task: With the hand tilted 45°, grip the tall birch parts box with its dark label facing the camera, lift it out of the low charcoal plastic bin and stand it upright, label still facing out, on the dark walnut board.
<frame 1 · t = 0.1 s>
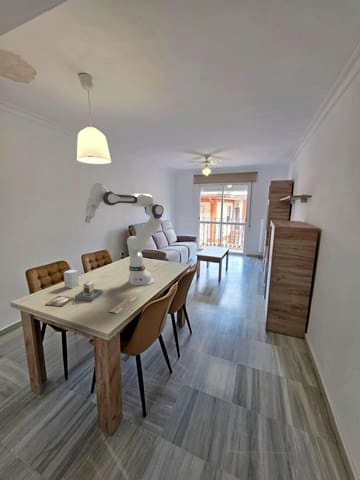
hand: (86, 222, 149), 52 cm above the table, tool tilted 20°, fingers open, 8 cm apart
walnut board: (60, 301, 136), on the table
newspaper: (124, 306, 134), on the table
charcoal bin: (89, 296, 145), on the table
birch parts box: (88, 289, 144), in the charcoal bin
supplement box: (71, 286, 162), on the table
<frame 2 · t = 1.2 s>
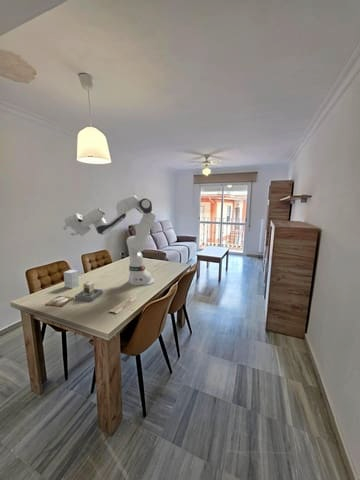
hand: (67, 231, 151), 44 cm above the table, tool tilted 55°, fingers open, 8 cm apart
nothing on the table moved.
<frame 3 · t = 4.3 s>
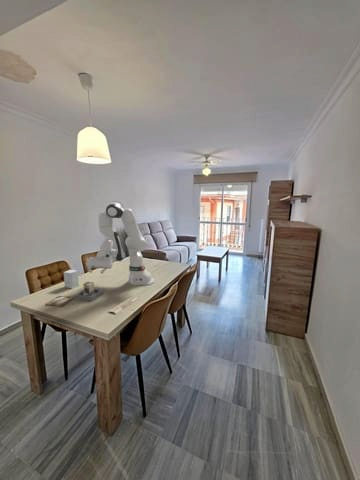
hand: (95, 272, 152), 14 cm above the table, tool tilted 45°, fingers open, 8 cm apart
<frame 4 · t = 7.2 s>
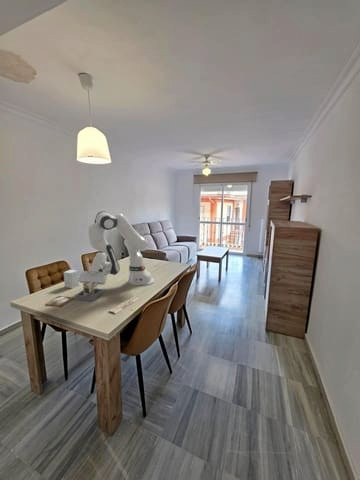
hand: (88, 288, 143), 6 cm above the table, tool tilted 45°, fingers closed on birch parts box, 5 cm apart
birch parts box: (88, 289, 144), in the charcoal bin, touching gripper
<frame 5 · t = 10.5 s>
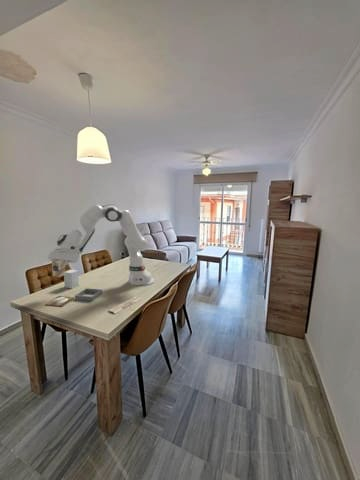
hand: (58, 266, 131), 24 cm above the table, tool tilted 45°, fingers closed on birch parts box, 5 cm apart
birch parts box: (58, 268, 132), point 24 cm above the table, touching gripper
when the fingers open (8 cm above the table, at t = 14.0 s): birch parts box drops 1 cm, resting on walnut board.
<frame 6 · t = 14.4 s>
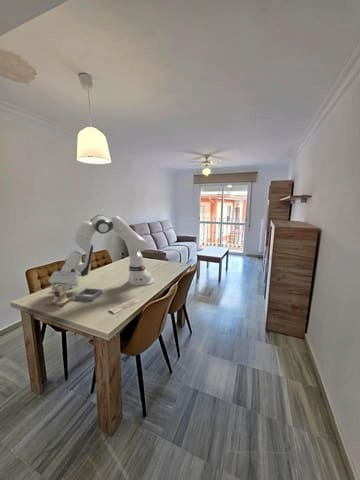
hand: (58, 290, 134), 8 cm above the table, tool tilted 45°, fingers open, 8 cm apart
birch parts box: (59, 293, 135), on the walnut board, point 6 cm above the table
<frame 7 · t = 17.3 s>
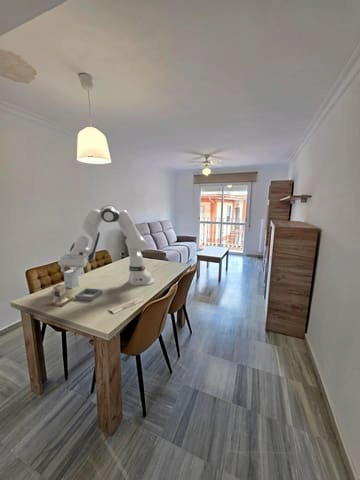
hand: (68, 271, 142), 18 cm above the table, tool tilted 45°, fingers open, 8 cm apart
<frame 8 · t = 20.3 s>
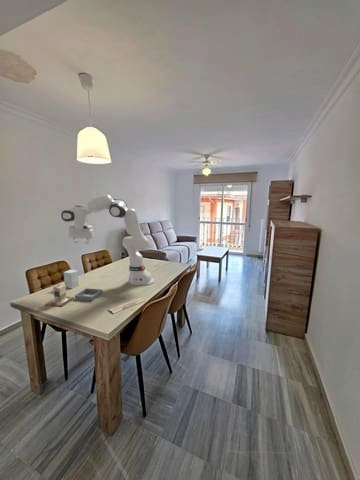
hand: (81, 243, 162), 34 cm above the table, tool pointing down, fingers open, 8 cm apart
at the end: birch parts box inside the target area on the walnut board (0.1 cm from its centre), point 6.0 cm above the walnut board's base; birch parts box tilted 0°; the gripper is holding nothing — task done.
